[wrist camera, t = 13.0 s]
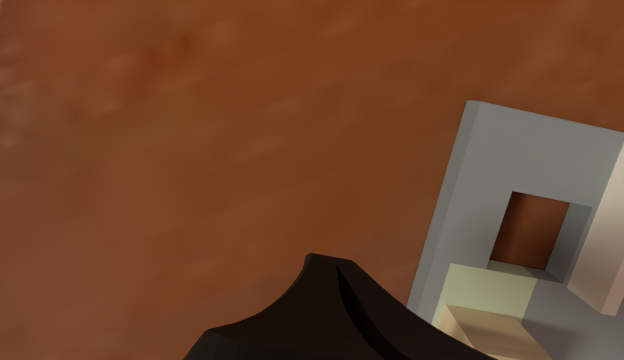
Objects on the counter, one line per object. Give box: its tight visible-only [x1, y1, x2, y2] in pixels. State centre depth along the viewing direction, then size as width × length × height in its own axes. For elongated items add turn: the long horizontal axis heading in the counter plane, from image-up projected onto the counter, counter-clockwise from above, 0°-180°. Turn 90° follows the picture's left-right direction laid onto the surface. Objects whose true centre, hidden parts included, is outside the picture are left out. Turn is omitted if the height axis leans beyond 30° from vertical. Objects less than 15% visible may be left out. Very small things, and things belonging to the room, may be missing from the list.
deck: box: [406, 100, 624, 360], centre depth 22 cm, size 16×17×2 cm
